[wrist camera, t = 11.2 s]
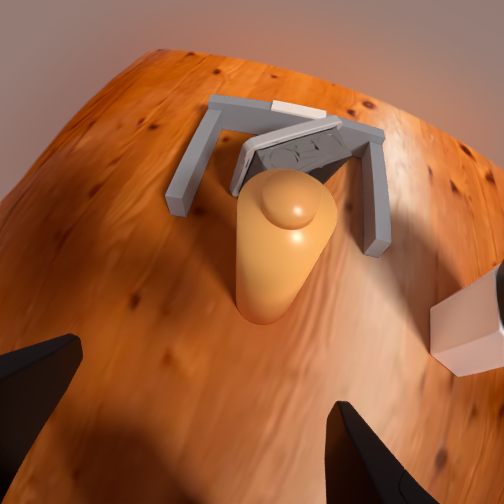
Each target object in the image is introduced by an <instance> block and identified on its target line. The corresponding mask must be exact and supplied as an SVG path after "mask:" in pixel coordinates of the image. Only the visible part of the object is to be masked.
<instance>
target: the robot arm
mask: <svg viewBox="0 0 504 504" xmlns="http://www.w3.org/2000/svg"><path fill="white" fill-rule="evenodd" d="M82 358H83V351H82V346H81V340H80V338H79V337H78V336H76V335H74V334H71V333H69V334H66V335H63V336H60V337H57V338H54V339H50V340H47V341H44V342H41V343H38V344H35V345H32V346H28V347H25V348H22V349H19V350H16V351H12V352H9V353H6V354H3V355H0V504H1V503H2V501H3V499H4V497H5V495H6V493H7V491H8V489H9V487H10V485H11V483H12V481H13V479H14V477H15V475H16V473H17V472H18V469H19V468H20V466H21V464H22V462H23V460H24V459H25V457H26V455H27V453H28V452H29V450H30V448H31V446H32V445H33V443H34V441H35V440H36V438H37V436H38V435H39V433H40V431H41V430H42V428H43V426H44V425H45V423H46V422H47V420H48V418H49V417H50V415H51V413H52V412H53V410H54V409H55V407H56V406H57V404H58V403H59V401H60V399H61V398H62V396H63V395H64V393H65V392H66V390H67V388H68V386H69V384H70V382H71V380H72V378H73V376H74V374H75V372H76V371H77V369H78V367H79V365H80V363H81V361H82ZM325 479H326V503H327V504H440V503H438V502H437V501H436V500H435V499H434V498H433V497H432V496H431V495H429V494H428V493H427V492H426V491H425V490H424V489H423V488H422V487H421V486H420V485H419V484H418V483H417V482H416V481H415V479H414V478H413V477H412V476H411V475H410V474H409V473H408V472H407V470H406V469H404V467H403V466H402V465H401V463H400V462H399V461H398V460H397V459H396V458H395V456H394V455H393V454H392V453H391V452H390V450H389V449H388V448H387V447H386V446H385V445H384V443H383V442H382V441H381V440H380V439H379V437H378V436H377V435H376V434H375V433H374V431H373V430H372V429H371V428H370V427H369V425H368V424H367V423H366V422H365V421H364V419H363V418H362V417H361V416H360V415H359V413H358V412H357V411H356V410H355V409H354V407H353V406H352V405H351V404H350V403H349V402H347V401H337V402H336V403H335V404H334V406H333V408H332V410H331V412H330V413H329V415H328V418H327V425H326V443H325Z"/></svg>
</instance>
